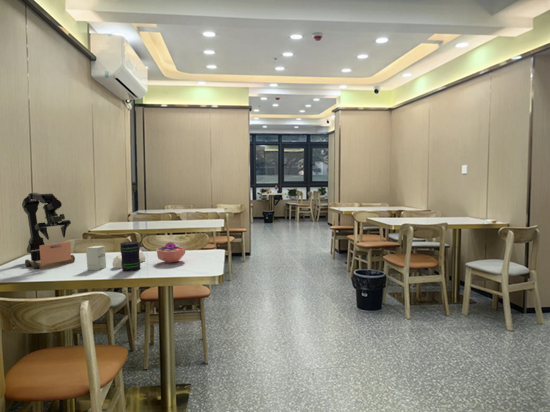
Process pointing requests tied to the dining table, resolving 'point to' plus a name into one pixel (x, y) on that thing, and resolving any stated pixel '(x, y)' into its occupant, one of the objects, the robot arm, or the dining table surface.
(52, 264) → the cart bed
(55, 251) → the panel
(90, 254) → the supplement box
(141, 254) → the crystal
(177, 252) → the cell model
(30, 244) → the robot arm
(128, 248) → the storage jar
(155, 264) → the dining table surface
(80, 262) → the dining table surface
